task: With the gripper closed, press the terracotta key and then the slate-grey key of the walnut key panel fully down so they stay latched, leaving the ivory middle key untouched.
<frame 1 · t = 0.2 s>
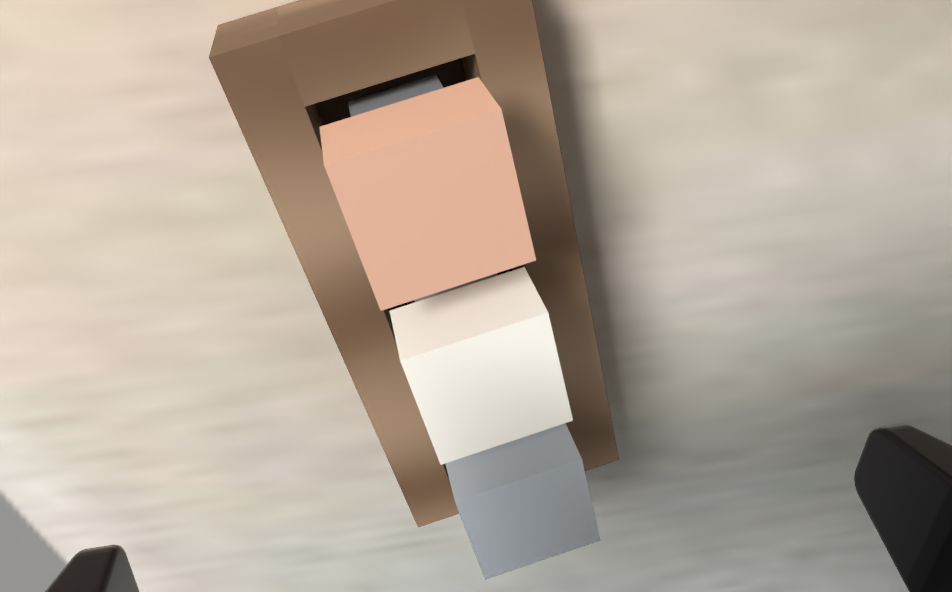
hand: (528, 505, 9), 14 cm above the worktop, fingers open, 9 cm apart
key panel: (442, 253, 23), on the worktop
key ivory: (470, 333, 20), point 4 cm above the worktop, slide at 0.0 cm
key slate: (509, 458, 22), point 4 cm above the worktop, slide at 0.0 cm
key terracotta: (419, 167, 17), point 4 cm above the worktop, slide at 0.0 cm
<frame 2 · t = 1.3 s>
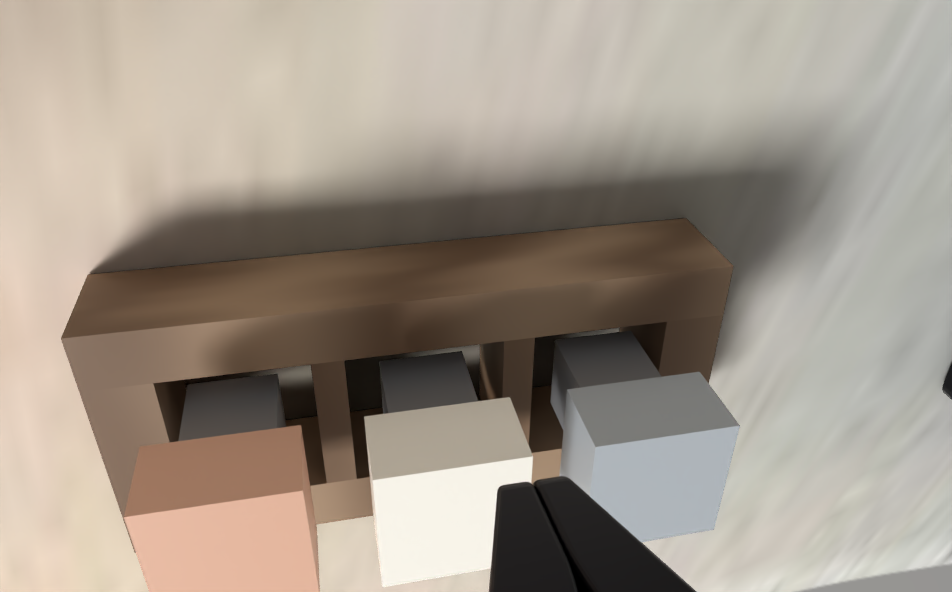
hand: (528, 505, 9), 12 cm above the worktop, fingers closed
key panel: (412, 350, 22), on the worktop
key ivory: (436, 449, 19), point 4 cm above the worktop, slide at 0.0 cm
key slate: (620, 422, 20), point 4 cm above the worktop, slide at 0.0 cm
key terracotta: (235, 478, 18), point 4 cm above the worktop, slide at 0.0 cm
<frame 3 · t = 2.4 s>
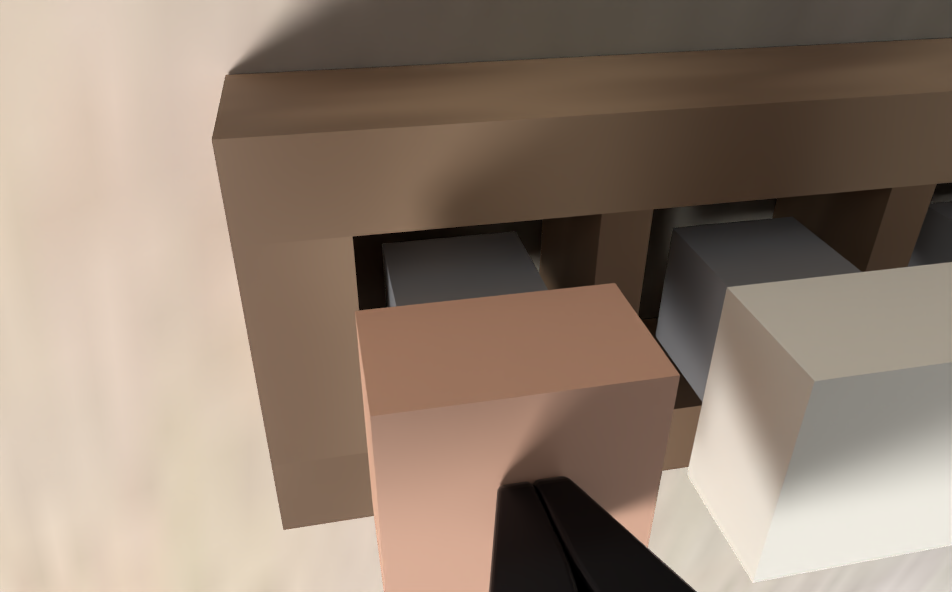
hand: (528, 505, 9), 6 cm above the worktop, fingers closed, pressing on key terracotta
key panel: (678, 231, 15), on the worktop
key ivory: (797, 358, 12), point 4 cm above the worktop, slide at 0.0 cm
key terracotta: (480, 382, 11), point 4 cm above the worktop, slide at 0.4 cm, touching gripper
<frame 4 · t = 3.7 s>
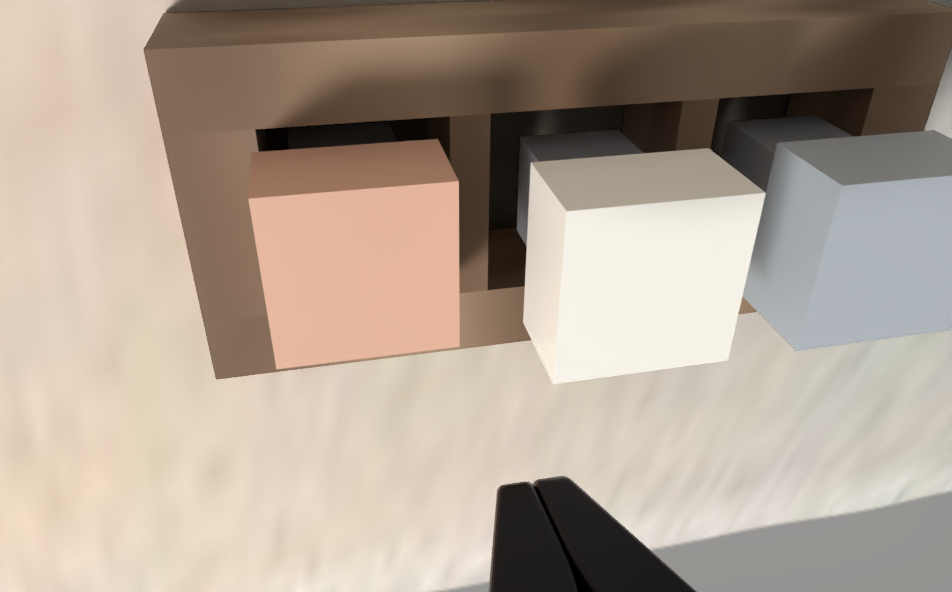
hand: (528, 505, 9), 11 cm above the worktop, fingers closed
key panel: (542, 151, 19), on the worktop
key ivory: (604, 229, 15), point 4 cm above the worktop, slide at 0.0 cm
key slate: (822, 207, 16), point 4 cm above the worktop, slide at 0.0 cm
key terracotta: (352, 219, 15), point 3 cm above the worktop, slide at 1.5 cm
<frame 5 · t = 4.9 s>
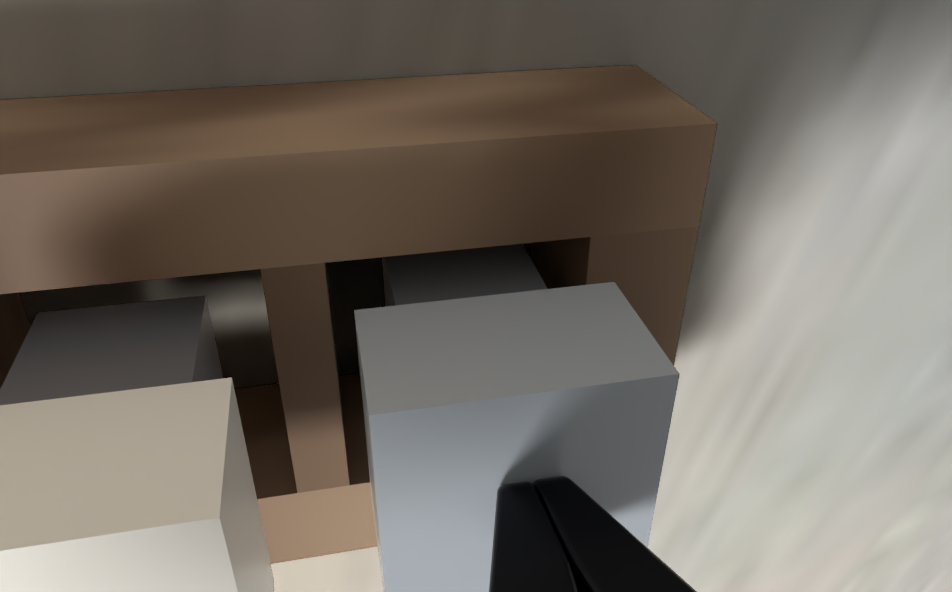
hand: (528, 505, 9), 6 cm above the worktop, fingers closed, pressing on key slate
key panel: (157, 302, 13), on the worktop
key ivory: (110, 486, 9), point 4 cm above the worktop, slide at 0.0 cm
key slate: (480, 381, 11), point 3 cm above the worktop, slide at 1.1 cm, touching gripper
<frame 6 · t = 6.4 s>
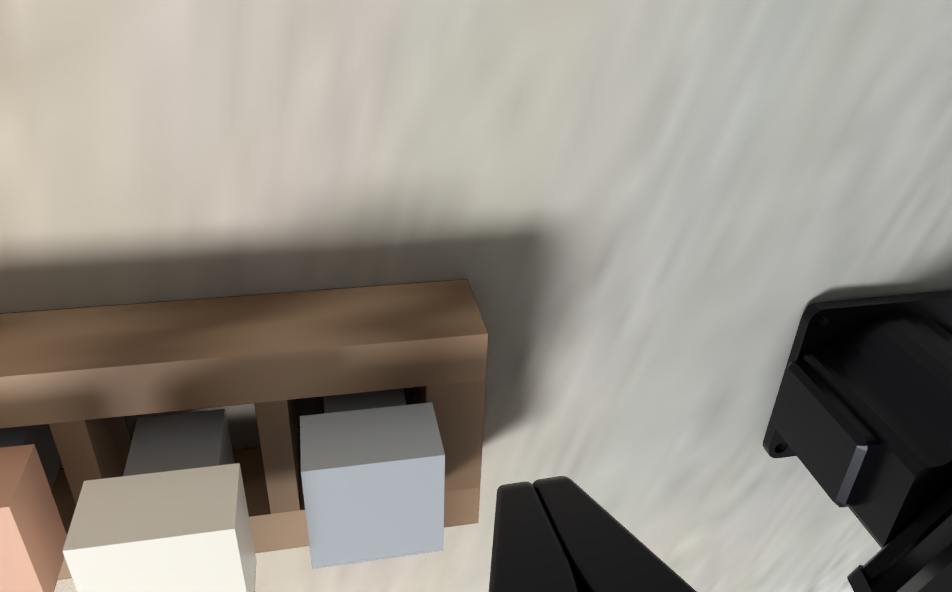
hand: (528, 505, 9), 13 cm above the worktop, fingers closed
key panel: (195, 402, 22), on the worktop
key ivory: (177, 510, 19), point 4 cm above the worktop, slide at 0.0 cm
key slate: (368, 447, 21), point 3 cm above the worktop, slide at 1.5 cm
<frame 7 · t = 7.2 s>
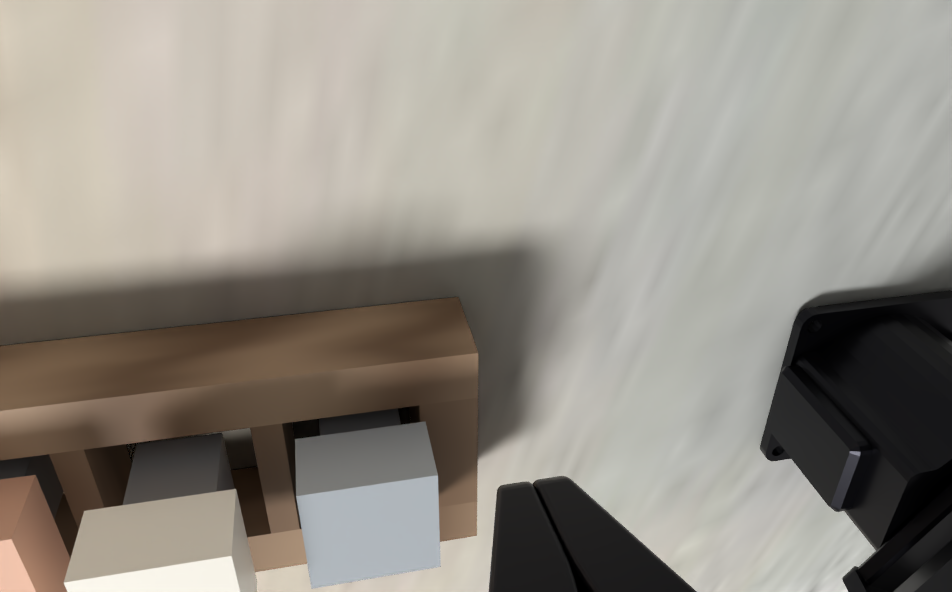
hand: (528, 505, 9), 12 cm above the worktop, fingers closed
key panel: (194, 425, 23), on the worktop
key ivory: (177, 535, 19), point 4 cm above the worktop, slide at 0.0 cm
key slate: (364, 466, 21), point 3 cm above the worktop, slide at 1.5 cm
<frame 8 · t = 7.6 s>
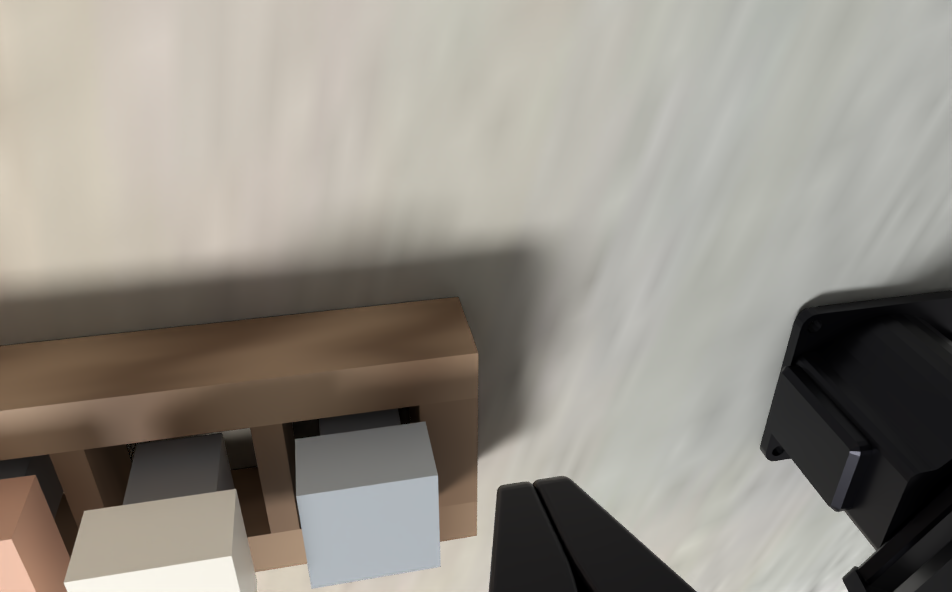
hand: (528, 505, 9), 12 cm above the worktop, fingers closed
key panel: (194, 425, 23), on the worktop
key ivory: (177, 535, 19), point 4 cm above the worktop, slide at 0.0 cm
key slate: (364, 466, 21), point 3 cm above the worktop, slide at 1.5 cm
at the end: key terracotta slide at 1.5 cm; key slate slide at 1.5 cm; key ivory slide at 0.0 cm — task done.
